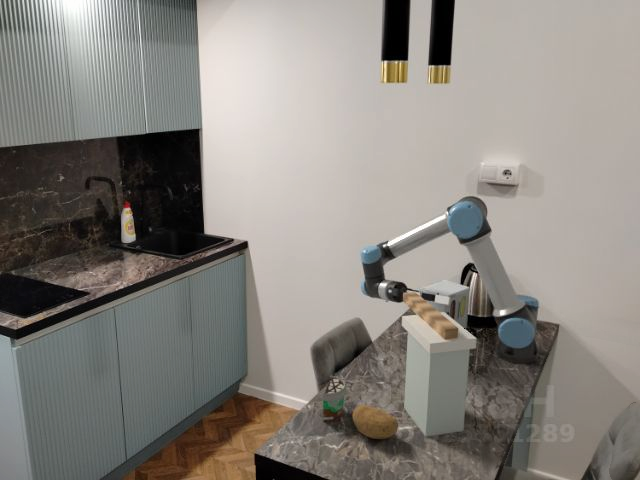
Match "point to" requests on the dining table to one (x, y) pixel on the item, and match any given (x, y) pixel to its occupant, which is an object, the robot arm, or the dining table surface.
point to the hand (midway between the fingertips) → (435, 298)
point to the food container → (333, 399)
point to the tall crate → (436, 376)
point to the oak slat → (430, 315)
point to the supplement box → (457, 302)
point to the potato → (374, 422)
